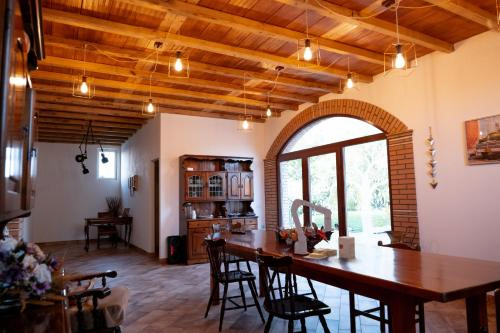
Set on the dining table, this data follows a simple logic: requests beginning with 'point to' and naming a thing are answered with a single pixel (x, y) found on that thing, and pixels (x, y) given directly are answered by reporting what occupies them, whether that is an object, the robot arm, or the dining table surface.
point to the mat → (315, 257)
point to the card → (316, 255)
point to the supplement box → (346, 247)
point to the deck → (326, 251)
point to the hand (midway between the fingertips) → (328, 240)
